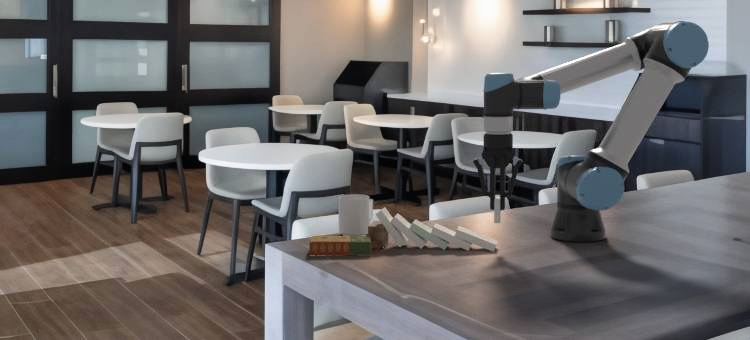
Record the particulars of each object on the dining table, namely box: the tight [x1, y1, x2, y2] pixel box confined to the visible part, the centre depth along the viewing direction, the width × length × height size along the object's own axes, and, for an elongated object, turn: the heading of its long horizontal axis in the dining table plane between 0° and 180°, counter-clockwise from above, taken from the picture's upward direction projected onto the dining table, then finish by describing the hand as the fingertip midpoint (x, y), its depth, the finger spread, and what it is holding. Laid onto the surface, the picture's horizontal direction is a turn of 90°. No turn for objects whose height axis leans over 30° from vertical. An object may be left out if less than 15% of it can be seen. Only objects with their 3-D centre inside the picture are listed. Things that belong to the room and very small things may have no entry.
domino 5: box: [454, 225, 498, 252], centre depth 229 cm, size 2×5×11 cm
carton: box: [308, 235, 373, 257], centre depth 227 cm, size 8×16×4 cm, turn 91°
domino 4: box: [431, 223, 473, 252], centre depth 230 cm, size 2×5×11 cm
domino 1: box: [375, 206, 409, 248], centre depth 233 cm, size 2×5×11 cm
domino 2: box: [390, 213, 428, 250], centre depth 233 cm, size 2×5×11 cm
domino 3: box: [409, 218, 450, 251], centre depth 231 cm, size 2×5×11 cm
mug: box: [337, 193, 374, 236], centre depth 250 cm, size 12×9×11 cm
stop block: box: [367, 220, 390, 249], centre depth 234 cm, size 4×8×6 cm, turn 168°
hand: (497, 222), depth 227 cm, fingers closed
